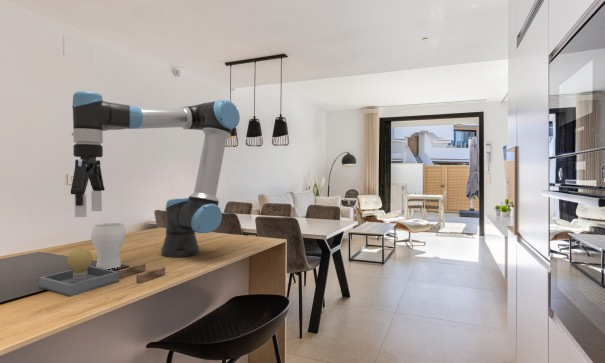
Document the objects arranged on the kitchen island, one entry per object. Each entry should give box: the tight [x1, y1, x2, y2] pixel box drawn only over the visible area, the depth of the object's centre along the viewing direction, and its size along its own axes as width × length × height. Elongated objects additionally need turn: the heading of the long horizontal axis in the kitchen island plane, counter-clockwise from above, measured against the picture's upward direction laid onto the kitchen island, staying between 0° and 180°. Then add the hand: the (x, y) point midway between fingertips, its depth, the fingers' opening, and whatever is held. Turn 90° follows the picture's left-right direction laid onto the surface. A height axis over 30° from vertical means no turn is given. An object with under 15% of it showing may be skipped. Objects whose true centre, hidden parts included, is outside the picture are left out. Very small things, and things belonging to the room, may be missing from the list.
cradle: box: [116, 262, 166, 284], centre depth 111 cm, size 10×10×2 cm
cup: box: [90, 222, 127, 270], centre depth 121 cm, size 11×11×15 cm
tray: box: [38, 265, 120, 297], centre depth 103 cm, size 15×15×3 cm
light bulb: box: [66, 248, 94, 283], centre depth 102 cm, size 6×6×10 cm
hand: (89, 213), depth 104 cm, fingers open, 13 cm apart
